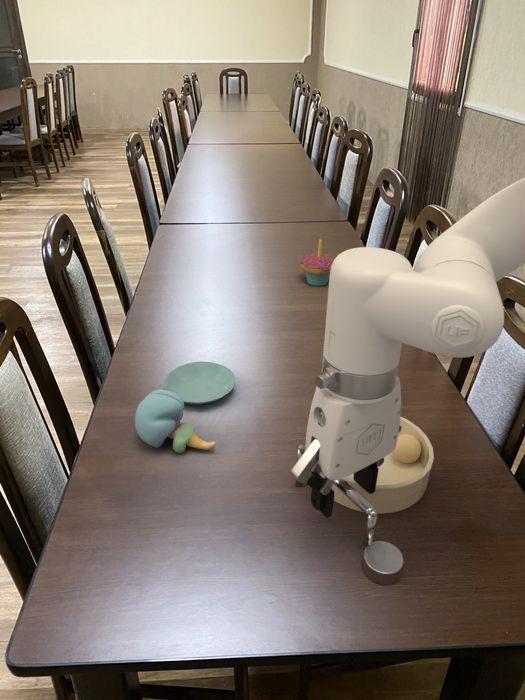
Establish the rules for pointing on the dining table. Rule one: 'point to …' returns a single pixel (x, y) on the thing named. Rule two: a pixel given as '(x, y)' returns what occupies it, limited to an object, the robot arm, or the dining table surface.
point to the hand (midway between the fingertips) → (343, 496)
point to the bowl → (395, 478)
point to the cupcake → (317, 266)
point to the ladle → (371, 539)
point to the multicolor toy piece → (166, 422)
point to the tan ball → (407, 448)
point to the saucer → (200, 382)
